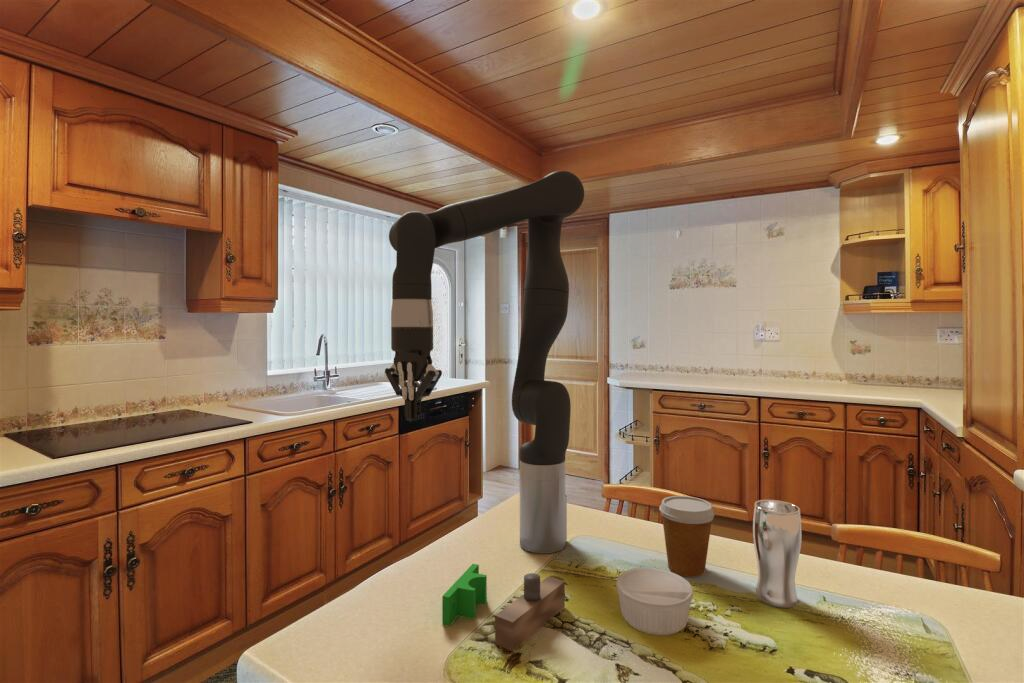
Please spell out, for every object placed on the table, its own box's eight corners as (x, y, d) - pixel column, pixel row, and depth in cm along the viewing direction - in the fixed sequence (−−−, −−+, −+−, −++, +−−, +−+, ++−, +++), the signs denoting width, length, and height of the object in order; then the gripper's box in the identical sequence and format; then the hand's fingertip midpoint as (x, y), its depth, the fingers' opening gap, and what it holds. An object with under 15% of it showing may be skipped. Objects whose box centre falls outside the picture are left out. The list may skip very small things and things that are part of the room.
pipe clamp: (465, 631, 75) (465, 600, 75) (442, 626, 76) (442, 596, 76) (493, 593, 86) (493, 566, 86) (472, 589, 87) (472, 562, 87)
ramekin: (651, 649, 70) (651, 611, 70) (601, 610, 80) (601, 576, 80) (710, 627, 76) (710, 592, 76) (655, 593, 86) (656, 561, 85)
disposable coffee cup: (709, 586, 88) (710, 516, 87) (653, 573, 92) (653, 506, 92) (718, 564, 96) (718, 500, 96) (665, 553, 101) (666, 492, 100)
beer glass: (799, 593, 85) (799, 502, 85) (802, 614, 79) (803, 516, 79) (752, 584, 88) (753, 496, 88) (752, 604, 82) (753, 509, 82)
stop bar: (548, 600, 83) (548, 557, 83) (564, 606, 81) (564, 562, 81) (495, 644, 72) (495, 593, 71) (512, 651, 70) (512, 600, 70)
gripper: (453, 325, 93) (453, 420, 94) (402, 325, 101) (403, 414, 102) (423, 324, 87) (423, 427, 88) (371, 325, 95) (372, 419, 95)
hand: (412, 420), depth 95 cm, fingers closed
